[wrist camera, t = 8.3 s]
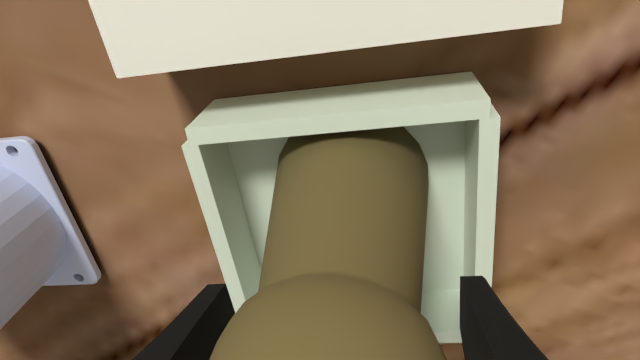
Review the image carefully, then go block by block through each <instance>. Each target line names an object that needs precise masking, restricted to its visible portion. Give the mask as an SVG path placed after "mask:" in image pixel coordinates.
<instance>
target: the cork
mask: <svg viewBox="0 0 640 360" xmlns="http://www.w3.org/2000/svg"><path fill="white" fill-rule="evenodd" d="M428 189H429V180H428V163H427V161H426V159H425V156H424V154H423V151H422V149H421V146H420V144H419V143H418V142H417V141H416V140H415V138H414V137H413V136H412V135H411V134H410V133H409V132H408V131H407V130H406V129H405V127H404V126H401V127H390V128H379V129H368V130H357V131H346V132H335V133H324V134H313V135H302V136H291V137H289V138H288V140H287V142H286V144H285V145H284V147H283V149H282V151H281V153H280V155H279V160H278V166H277V173H276V179H275V186H274V192H273V198H272V205H271V211H270V218H269V224H268V231H267V237H266V243H265V250H264V256H263V263H262V269H261V276H260V282H259V289H258V292H257V293H256V294H255V295H253V296H252V297H250V298H249V299H248V300H246V301H245V302H244V303H243V304H242V305H241V307H240V308H239V309H238V310H237V312H236V313H235V314H234V316H233V317H232V318H231V319H230V321H229V323H228V324H227V326H226V328H225V329H224V331H223V332H222V334H221V336H220V337H219V339H218V341H217V343H216V345H215V347H214V350H213V352H212V354H211V357H210V359H209V360H447V359H446V357H445V355H444V353H443V351H442V348H441V346H440V344H439V342H438V340H437V338H436V336H435V334H434V332H433V330H432V328H431V326H430V324H429V322H428V320H427V319H426V318H425V317H424V316H423V315H422V314H421V300H422V284H423V268H424V252H425V237H426V221H427V205H428Z"/></svg>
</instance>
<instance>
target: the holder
mask: <svg viewBox="0 0 640 360" xmlns="http://www.w3.org/2000/svg"><path fill="white" fill-rule="evenodd" d="M88 1H89V4H90V7H91V9H92V12H93V15H94V18H95V20H96V23H97V26H98V28H99V31H100V34H101V36H102V39H103V42H104V45H105V47H106V50H107V53H108V55H109V58H110V61H111V63H112V66H113V69H114V72H115V74H116V77H117V78H124V77H132V76H140V75H148V74H156V73H164V72H172V71H180V70H189V69H197V68H205V67H213V66H221V65H229V64H237V63H245V62H254V61H262V60H270V59H278V58H286V57H294V56H302V55H310V54H319V53H327V52H335V51H343V50H351V49H359V48H367V47H375V46H384V45H392V44H400V43H408V42H416V41H424V40H432V39H441V38H449V37H457V36H465V35H473V34H481V33H489V32H497V31H506V30H514V29H522V28H530V27H538V26H546V25H554V24H561V18H562V9H563V0H88Z"/></svg>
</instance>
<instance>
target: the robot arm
mask: <svg viewBox="0 0 640 360" xmlns="http://www.w3.org/2000/svg"><path fill="white" fill-rule="evenodd" d="M13 147H15V148H16V149H17V150H18V152H17V151H16V150H15V149H14V148H13ZM100 278H101V272H100V270H99V268H98V266H97V264H96V262H95V260H94V258H93V256H92V254H91V252H90V250H89V248H88V246H87V244H86V242H85V240H84V238H83V235H82V233H81V231H80V229H79V227H78V225H77V223H76V221H75V219H74V217H73V215H72V213H71V211H70V209H69V207H68V205H67V203H66V201H65V199H64V197H63V195H62V193H61V191H60V189H59V187H58V185H57V183H56V181H55V179H54V177H53V175H52V173H51V170H50V168H49V166H48V164H47V162H46V160H45V158H44V156H43V154H42V152H41V150H40V148H39V146H38V145H37V143H36V142H35V141H34V140H33V139H32V138H29V137H27V136H18V137H9V138H0V329H1V328H2V327H3V326H4V325H5V324H6V323H7V322H8V321H9V320H10V319H11V318H12V317H13V316H14V315H15V314H16V313H17V312H18V311H19V310H20V308H21V307H22V306H23V305H24V304H25V303H26V302H27V301H28V300H29V299H30V298H31V297H32V296H33V295H34V294H35V293H36V292H37V291H38V290H39V289H40V288H41V287H42V286H56V285H85V284H95V283H97V282H98V280H99V279H100ZM234 314H235V311H234V308H233V305H232V302H231V298H230V295H229V292H228V289H227V286H226V284H210V285H207V286H206V287H205V288H204V289H203V290H202V291H201V292H200V293H199V294H198V295H197V296H196V297H195V298H194V299H193V300H192V301H191V302H190V303H189V305H188V306H187V307H186V308H185V309H184V310H183V311H182V312H181V313H180V314H179V315H178V316H177V317H176V318H175V319H174V320H173V321H172V322H171V323H170V324H169V325H168V326H167V327H166V328H165V329H164V330H163V331H162V332H161V333H160V334H159V335H158V336H157V337H156V338H155V339H154V340H153V341H152V342H151V343H150V344H149V345H147V346H146V347H145V348H144V349H143V350H142V351H141V352H140V353H139V354H138V355H137V356H136V357H135V358H134V359H132V360H209V359H210V357H211V354H212V352H213V350H214V347H215V345H216V343H217V341H218V339H219V337H220V336H221V334H222V332H223V331H224V329H225V328H226V326H227V324H228V323H229V321H230V319H231V318H232V317H233V316H234ZM460 332H461V338H462V345H463V351H464V356H465V360H548V359H547V357H546V356H545V355H544V354H543V353H542V352H541V351H540V350H539V349H538V347H537V346H536V345H535V344H534V343H533V342H532V341H531V339H530V338H529V337H528V336H527V335H526V333H525V332H524V331H523V330H522V328H521V327H520V326H519V325H518V324H517V322H516V321H515V320H514V319H513V317H512V316H511V315H510V313H509V312H508V311H507V309H506V308H505V307H504V305H503V304H502V303H501V301H500V300H499V298H498V297H497V295H496V294H495V292H494V291H493V289H492V288H491V286H490V285H489V283H488V282H487V280H486V278H484V277H483V276H460Z"/></svg>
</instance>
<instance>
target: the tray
mask: <svg viewBox="0 0 640 360" xmlns="http://www.w3.org/2000/svg"><path fill="white" fill-rule="evenodd" d="M500 118H501V117H500V116H499V114H498V113H497V111H496V110H495V108H494V107H493V105H492V104H491V99H490V97H489V96H488V94H487V93H486V92H485V90H484V89H483V87H482V86H481V84H480V83H479V81H478V80H477V78H476V77H475V76H474V74H473V73H472V71H470V72H461V73H452V74H443V75H433V76H424V77H415V78H406V79H397V80H388V81H379V82H369V83H360V84H351V85H342V86H333V87H324V88H315V89H305V90H296V91H287V92H278V93H269V94H260V95H251V96H241V97H232V98H223V99H214V100H213V101H212V102H211V103H210V104H209V105H208V106H207V107H206V108H205V109H204V110H203V111H202V112H201V113H200V114H199V115H198V116H197V117H196V118H195V119H194V120H193V121H192V122H191V123H190V124H189V125H188V126H187V127H186V128H185V132H186V135H187V138H188V140H187V141H186V142H185V143H184V144H183V145H182V146H181V147H182V150H183V153H184V156H185V159H186V162H187V165H188V168H189V171H190V174H191V177H192V181H193V184H194V187H195V190H196V193H197V196H198V199H199V202H200V205H201V208H202V211H203V215H204V218H205V221H206V224H207V227H208V230H209V233H210V236H211V239H212V242H213V246H214V249H215V252H216V255H217V258H218V261H219V264H220V267H221V270H222V273H223V276H224V280H225V283H226V286H227V289H228V292H229V295H230V298H231V301H232V304H233V307H234V310H235V313H236V312H237V310H238V309H239V308H240V307H241V305H242V304H243V303H244V302H245V301H246V300H248V299H249V298H250V297H252V296H253V295H255V294H256V293H257V292H258V289H259V282H260V276H261V269H262V263H263V256H264V250H265V243H266V237H267V231H268V224H269V218H270V211H271V205H272V198H273V192H274V186H275V179H276V173H277V166H278V160H279V155H280V153H281V151H282V149H283V147H284V145H285V144H286V142H287V140H288V138H289V137H291V136H302V135H313V134H324V133H335V132H346V131H357V130H368V129H379V128H390V127H401V126H404V127H405V129H406V130H407V131H408V132H409V133H410V134H411V135H412V136H413V137H414V138H415V140H416V141H417V142H418V143H419V144H420V146H421V149H422V151H423V154H424V156H425V159H426V161H427V163H428V180H429V189H428V205H427V221H426V237H425V252H424V268H423V284H422V300H421V314H422V315H423V316H424V317H425V318H426V319H427V320H428V322H429V324H430V326H431V328H432V330H433V332H434V334H435V336H436V338H437V340H438V342H439V343H462V338H461V332H460V276H483V277H484V278H486V280H487V282H488V283H489V285H490V286H491V288H492V271H493V252H494V233H495V214H496V195H497V176H498V157H499V137H500Z"/></svg>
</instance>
